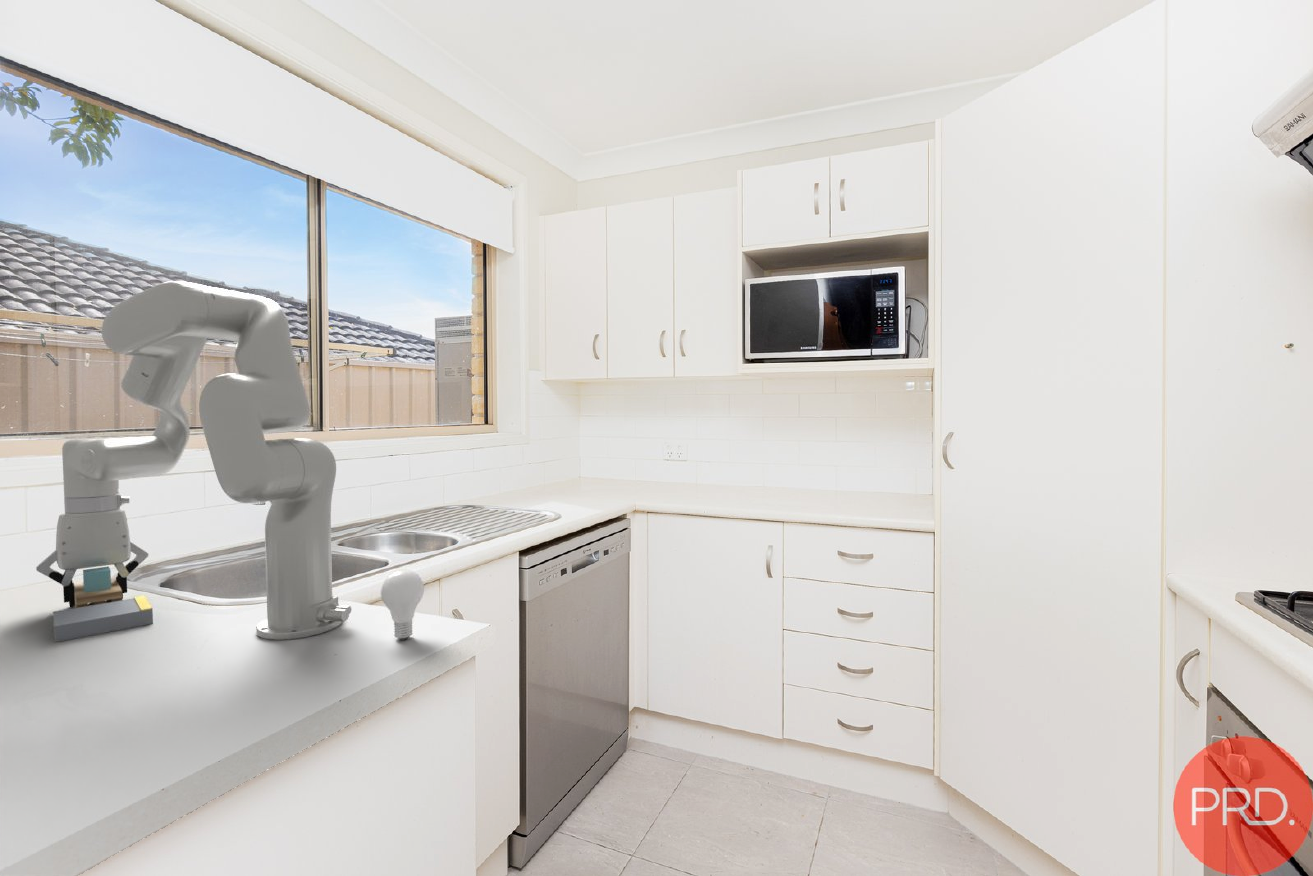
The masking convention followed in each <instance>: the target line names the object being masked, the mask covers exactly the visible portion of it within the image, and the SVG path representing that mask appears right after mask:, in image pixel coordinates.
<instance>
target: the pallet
mask: <svg viewBox="0 0 1313 876" xmlns="http://www.w3.org/2000/svg"><path fill="white" fill-rule="evenodd" d="M74 598H75V606H74V607H73V608H79V607H85V606H89V604H90V606H91V605H97V604H103V603H109V602H115V601H121V600H123V599H122V590H121V588H120V586H119V584H118V583H117V581H116V577H114V578H111V589H108V590H101V591H95V592H88V593H85V592H84V583H83V582H79V583H74Z"/></svg>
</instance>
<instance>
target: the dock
mask: <svg viewBox="0 0 1313 876" xmlns="http://www.w3.org/2000/svg"><path fill="white" fill-rule="evenodd" d="M153 615H154V613H153V606H152V605H151V603H150V602H149V600H148V598H147V596H146V595H139V596H134V597H133V598H126V599H122V600H121V601H115V602H109V603H108V602H105V603H103V604H97V605H91V604H90V605H88V606H85V607H79V608H74V607H72V608H68V609H67V608H66V609H61V610H55V611H52V622H53V623H52V624H53V626H52V627H53V637H54V642H55V643H56V642H57V643H58V642H63V641H68V640H69V641H70V640H73V639H79V638H83V637H88V636H93V635H100V634H104V633H109V632H114V631H119V630H125V629H129V628H135V627H142V626H145V625H151V624H154V616H153Z"/></svg>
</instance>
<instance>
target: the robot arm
mask: <svg viewBox="0 0 1313 876" xmlns="http://www.w3.org/2000/svg"><path fill="white" fill-rule="evenodd" d="M290 332H291V331H290V326H289V321H288V317H287V315H286V313H285V312H284V309H282V307H281V306H280V305H279V304H278V303H277V302H275V301H274V300H273V299H271V298H266V297H264V296H261V295H256V294H251V293H250V294H249V293H245V292H240V291H235V290H228V289H225V288H219V287H212V286H209V285H208V286H207V285H203V284H198V283H194V282H188V281H181V280H180V281H179V280H175V281H172V280H171V281H166V282H161V283H159V284H156V285H154V286H152V287H149V288H148V289H145V290H143V291H141V292H138V293H137V294H134V295H132V296H129V297H128V298H126V299H123V300H122V301H120V302H119V303H116V305H114V307H112V308H111V309H110V310H109V311H108V312H107V314H106V315H105V317H104V319H103V321H102V324H101V338H102V341H103V342H104V344H105V346H106V347H107V348H108V349H109V350H111V351H112V352H114V353H116V354H119V355H126V356H127V355H128V356H132V357H131V360H130V362H129V365H128V367H127V368H126V371H125V374H124V376H123V378H122V380H121V383H120V384H121V389H122V391H123V392H124V393H125V395H127V397H129V398H131V399H133V400H134V401H136V402H138V403H140V404H143V405H145V406H147V407H150V408H152V409H156V410H158V411H159V420H158V423H157V425H156V427H155V429H154V432H153V434H152V435H151V436H139V437H137V436H136V437H135V436H134V437H119V438H75V439H70V440H66V441H65V442H64V443H63V445H62V448H61V450H62V453H61V455H62V474H63V475H62V476H63V478H62V479H63V497H64V499H63V500H64V503H63V504H64V513H62V514H59V515H58V520H57V524H56V525H57V526H56V532H55V533H56V534H55V538H56V540H55V550H54V551H52V553H51V554H49V555H48V556H47V557H46V558H45V559H44V560H42V562H40V563H39V564H38V565H37V566H36V567H35V568H36V571H37V572H38V573H40V574H42V575H44V576H45V577H48V578H49V579H51V580H53V581H55V582H56V583H58V584H60V585H62V587H63V589H62V590H63V591H62V592H63V602H64V603H68V605H69V608H74V606H75V598H74V584H75V583H74V582H73V579H74V576H75V575H76V574H75V573H76V572H77V571H78V570H84V569H92V568H95V567H96V568H99V567H107V566H111V565H113V566H114V568H116V570H117V573H116V576H115V578H116V581H117V583H118V584H119V586H120V588H121V590H122V600H124V594H126V593H128V578H127V577H129V575H130V574H131V573H132V572H133V571H134V570H136V568H138V566H139V565H140V564H141V563H142V562H144V561H145V560H146V559H147V558H148V557H149V553H148V552H147V551H146V550H144V549H142V548H141V547H139V546H138V545H136V544H134V543H133V542H132V541H131V535H130V530H129V525H128V524H129V523H128V518H127V515H126V511H125V509H123V508H121V507H122V506H123V505H126V504H130V496H124V495H123V496H122V495H121V494H120V482H119V481H121V480H129V479H135V478H136V479H137V478H138V479H139V478H148V477H156V476H162V475H165V474H168V473H169V472H170V471H172V470H173V468H175V466H176V465H177V464H178V462H179V460H180V459H181V458H182V455H183V453H184V451H185V449H186V447H187V445H188V442H189V439H190V433H191V431H190V420H189V417H188V413H187V411H186V409H185V407H184V405H183V404H182V401H181V398H182V395H183V393H184V391H185V390H186V387H187V385H188V383H189V381H190V378H191V377H192V374H193V371H194V370H195V368H196V365H197V363H198V361H199V358H200V356H201V354H202V352H203V350H204V347H205V345H206V342H207V339H208V340H209V339H210V340H220V341H230V342H231V341H232V342H233V341H234V342H237V343H236V346H235V348H234V349H235V350H234V362H235V366H236V369H237V371H238V373H233V372H231V373H224V374H220V375H216V376H215V377H213V378H212V379H210V380H209V381H208V382H206V384H205V385H204V387H203V389H202V391H201V393H200V397H199V402H198V412H199V418H200V424H201V426H202V427H201V428H202V430H203V434H204V438H205V441H206V444H207V448H208V452H209V455H210V459H211V461H212V465H213V469H214V472H215V475H216V478H217V480H218V483H219V486H220V487H221V489H222V491H223V492H224V493H225V495H226V496H228V498H230V499H231V500H233V501H235V502H237V503H241V504H259V503H265V502H272V503H271V504H270V507H269V510H268V512H267V515H266V519H265V524H264V544H265V546H264V548H265V551H264V552H265V576H266V577H265V579H266V581H265V583H266V585H265V586H266V610H267V612H266V613H267V615H266V617H267V618H266V619H263V620H261V621H260V622H259V623H258V624H257V625H256V629H255V631H256V632H255V633H256V635H257V636H258V637H260V638H262V639H266V640H277V641H278V640H293V639H301V638H306V637H307V638H308V637H312V636H315V635H320V634H322V633H325V632H328V631H330V630H334V629H335V628H337V627H338V626H339V625H341V624H342V623H343V622H347V621H348V619H349V617H350V614H351V613H352V606H350V605H340V604H339V596H334V595H333V569H332V566H333V564H332V562H333V561H332V499H333V493H334V492H333V491H334V487H335V482H336V475H337V463H336V457H335V455H334V453H333V452H332V450H331V449H330V448H329V447H328V446H327V445H325V443H323V442H321V441H318V440H316V439H312V438H300V437H299V438H298V437H295V438H282V439H281V438H279V439H268V440H265V436H264V435H268V434H284V433H290V432H295V431H297V430H299V429H301V428H303V427H304V426H305V425H306V424H307V422H308V420H309V418H310V407H309V400H308V396H307V394H306V390H305V387H304V383H303V380H302V376H301V374H300V370H299V366H298V363H297V360H296V356H295V354H294V350H293V346H292V339H291V333H290ZM131 552H132V553H133V554H134V555H136V556H135V557H134V558H133V559H132V560H130V559H131ZM129 560H130V561H129ZM128 561H129V562H128ZM126 562H128V563H127V564H126V565H124V563H126ZM54 563H56V564H57V566H58V568H59V569H60V570H64V572H63V573H61V572H59V571H57V570H55V569H53V568H52V565H53V564H54Z"/></svg>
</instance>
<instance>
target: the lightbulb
mask: <svg viewBox="0 0 1313 876" xmlns="http://www.w3.org/2000/svg"><path fill="white" fill-rule="evenodd" d="M424 592H425V585H424V581H423V580H422V578H421V577H420V575H419V574H418V573H416V572H414V571H412V570H410V569H409V570H408V569H399V570H396V571H393V572H392V573H390V574H389V575H387V577H386V578H385V579H384V581H383V583H382V584H381V587H380V597H381V600H382V602H383V604H384V606H385V607H387V609H388V610H389V611H390V615H391V619H392V621H393V625H394V626H393V628H394V631H393V632H394V634H393V636H394V637H395V638H397V639H398V640H406V639H408V638H410V637H411V636H412V635H413V619H414V616H415V613H416V609H417V607H418V605H419V603H420V602H421V600H422V599H423V596H424Z"/></svg>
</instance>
